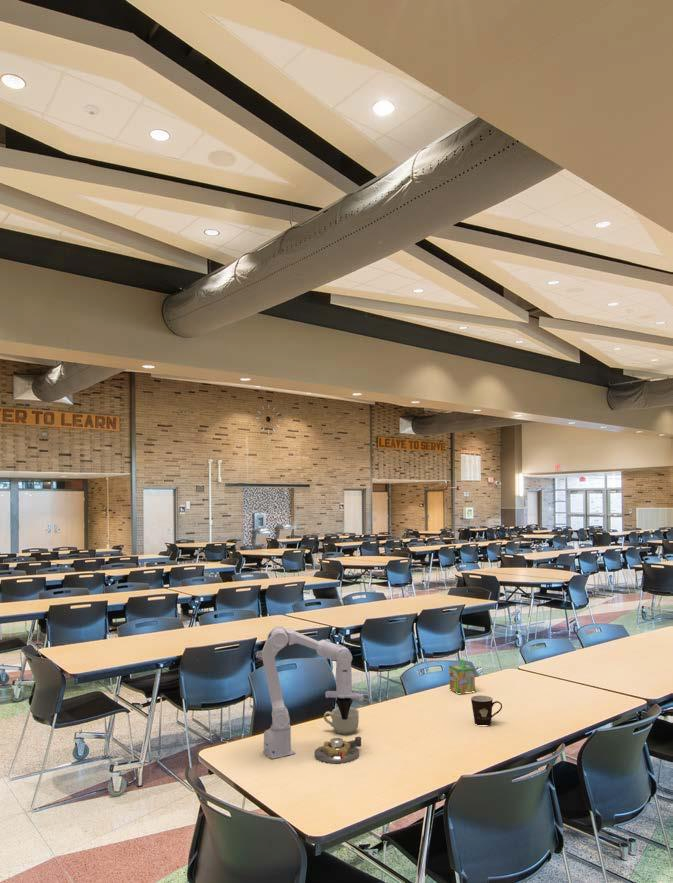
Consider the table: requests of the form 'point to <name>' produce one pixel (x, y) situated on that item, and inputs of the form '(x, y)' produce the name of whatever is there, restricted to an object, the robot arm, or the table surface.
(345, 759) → the cap plate
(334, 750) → the gold handled ring
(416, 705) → the table surface
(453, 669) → the green patterned box
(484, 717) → the coffee mug
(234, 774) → the table surface
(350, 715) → the teacup
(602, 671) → the table surface
